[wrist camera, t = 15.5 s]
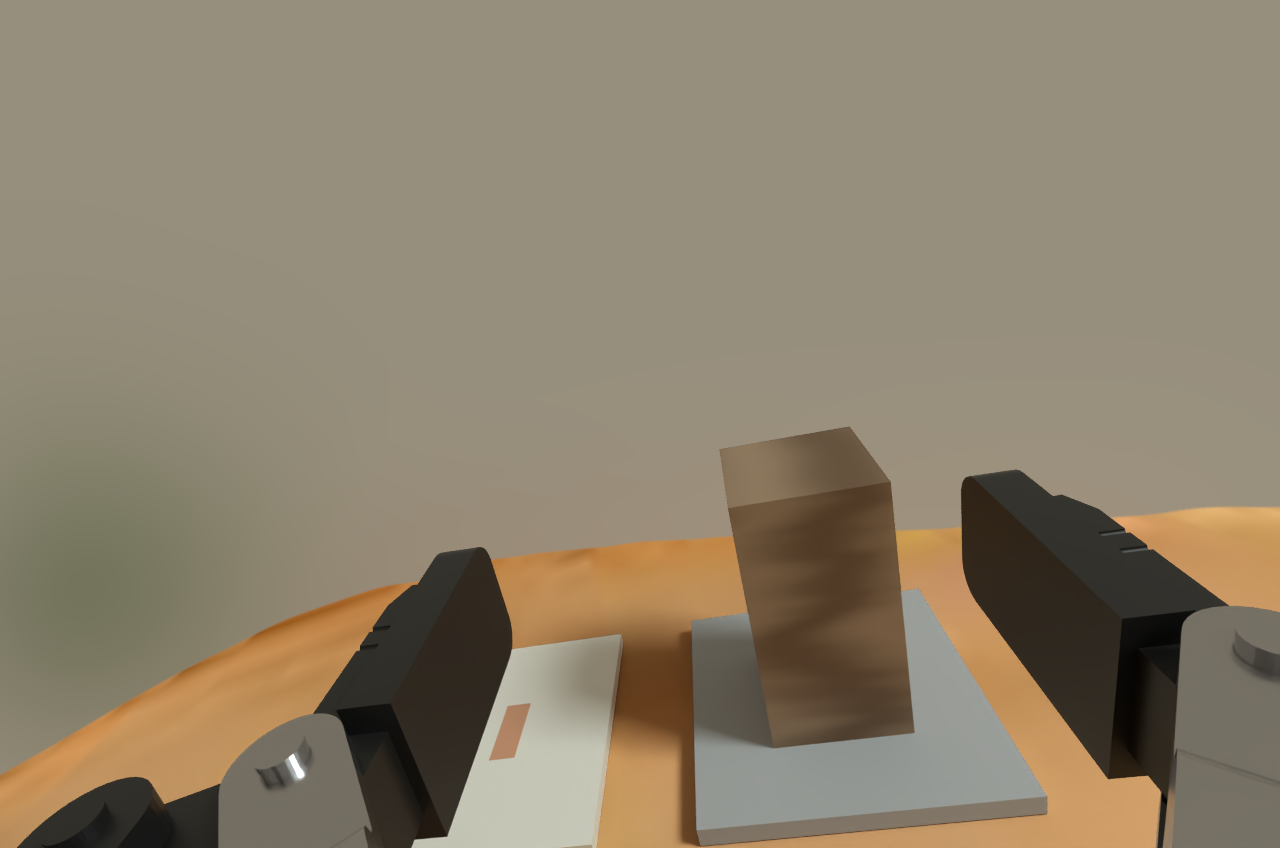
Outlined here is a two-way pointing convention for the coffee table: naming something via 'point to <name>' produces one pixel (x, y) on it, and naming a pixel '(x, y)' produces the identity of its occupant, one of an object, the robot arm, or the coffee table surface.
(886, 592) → the walnut block
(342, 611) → the coffee table surface
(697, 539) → the coffee table surface
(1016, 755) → the grey mat
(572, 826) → the white tile
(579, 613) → the coffee table surface
